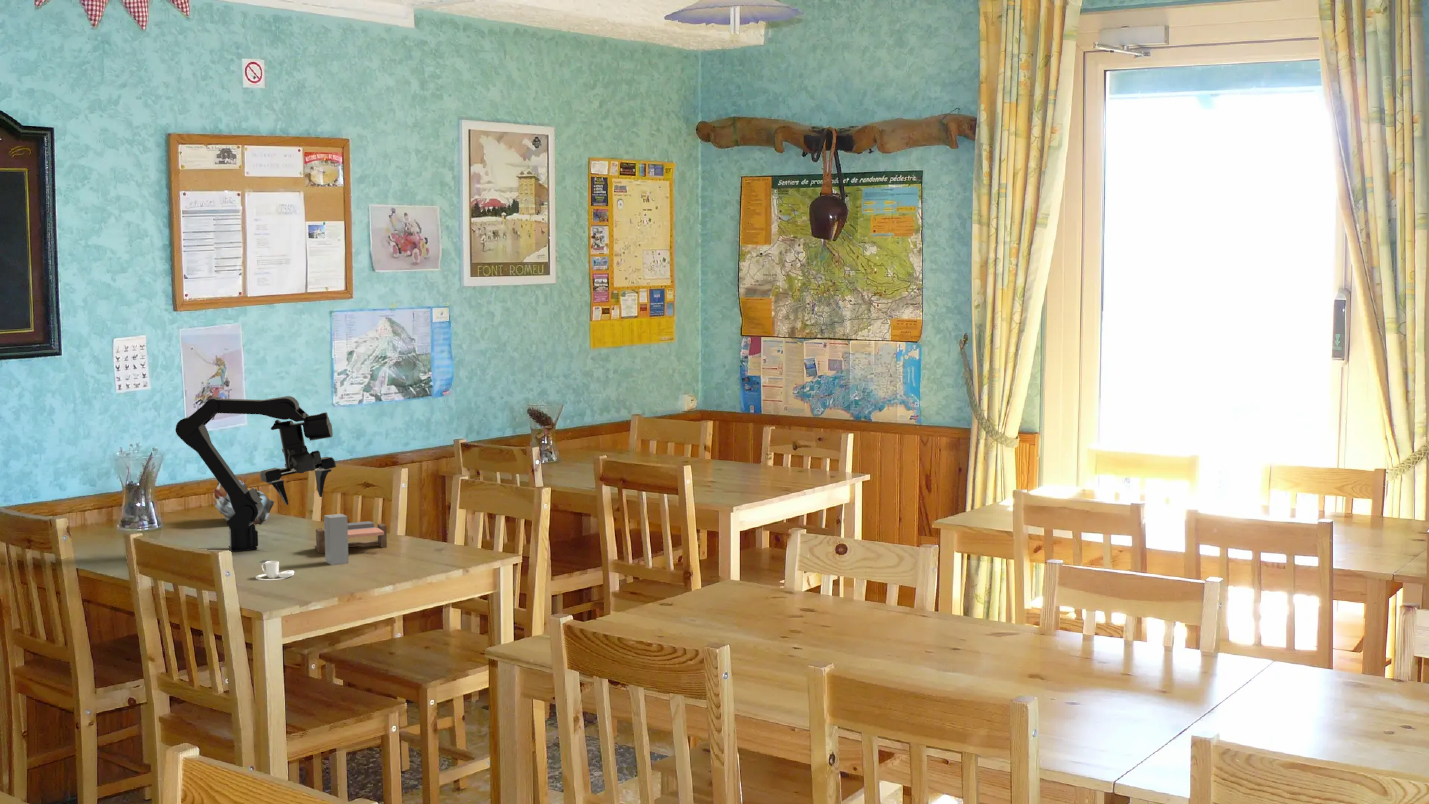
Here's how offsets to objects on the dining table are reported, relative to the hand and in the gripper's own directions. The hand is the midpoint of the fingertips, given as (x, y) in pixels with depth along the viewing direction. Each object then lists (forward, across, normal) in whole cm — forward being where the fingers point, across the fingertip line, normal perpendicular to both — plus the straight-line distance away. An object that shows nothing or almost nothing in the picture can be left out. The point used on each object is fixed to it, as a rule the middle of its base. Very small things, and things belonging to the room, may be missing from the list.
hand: (304, 500), depth 357 cm
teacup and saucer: (+13, -20, -32) cm, 40 cm away
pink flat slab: (+11, +8, -9) cm, 17 cm away
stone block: (+14, -1, -22) cm, 26 cm away
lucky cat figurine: (+9, -4, +48) cm, 49 cm away
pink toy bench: (+14, +8, -6) cm, 18 cm away
